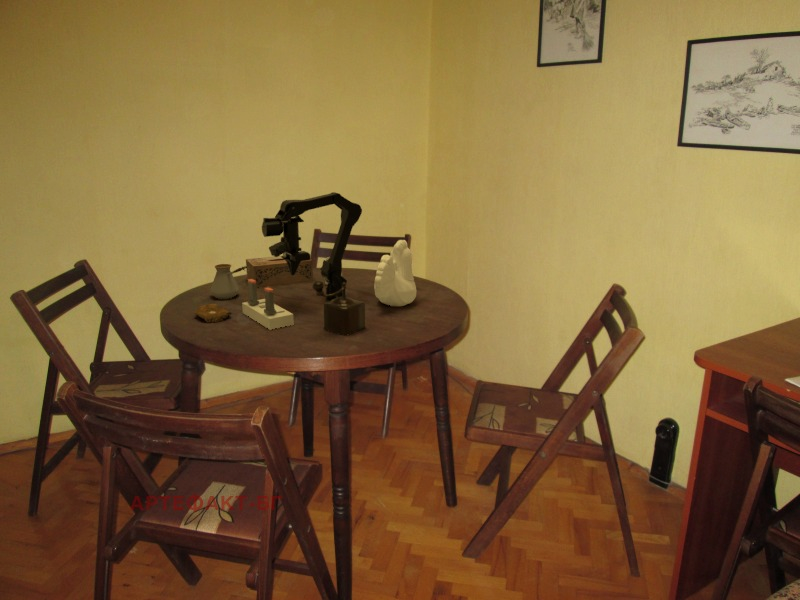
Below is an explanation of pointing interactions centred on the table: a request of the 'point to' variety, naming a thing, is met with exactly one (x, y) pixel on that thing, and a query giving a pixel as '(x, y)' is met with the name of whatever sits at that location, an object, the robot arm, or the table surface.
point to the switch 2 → (269, 301)
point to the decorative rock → (212, 313)
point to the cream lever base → (268, 321)
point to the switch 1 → (252, 292)
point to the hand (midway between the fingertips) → (292, 275)
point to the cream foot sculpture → (396, 277)
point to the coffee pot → (225, 282)
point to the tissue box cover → (277, 271)
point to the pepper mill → (341, 311)
